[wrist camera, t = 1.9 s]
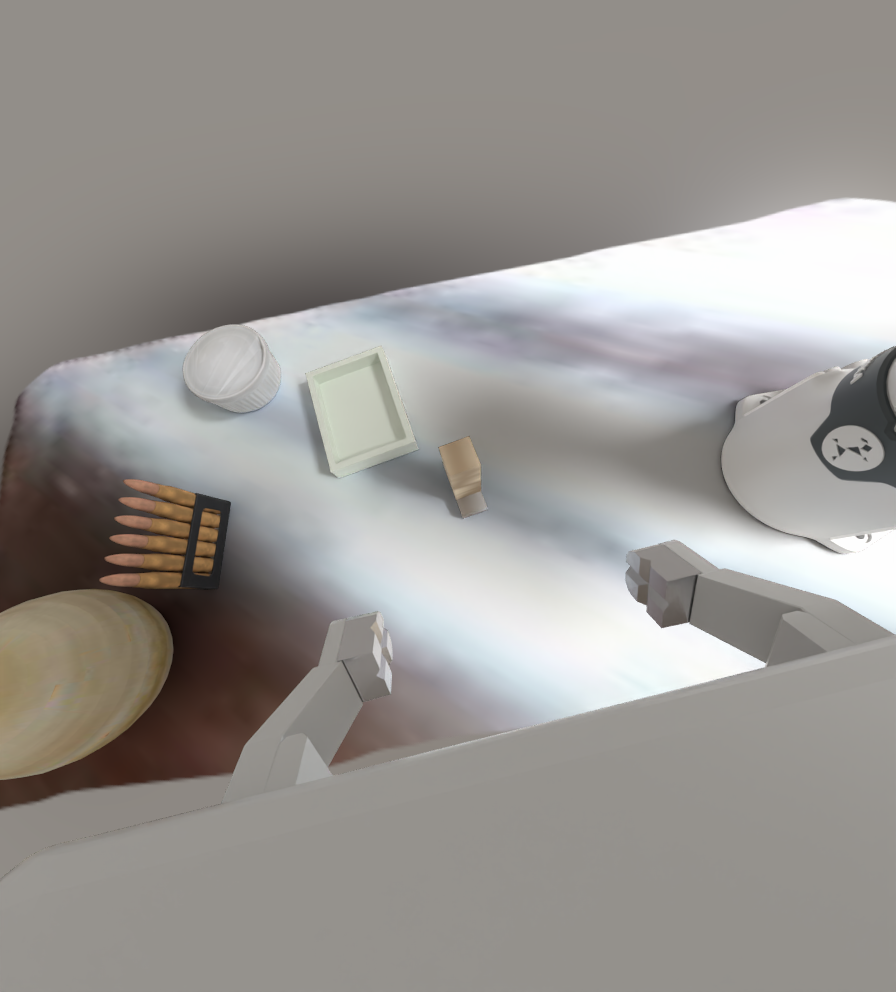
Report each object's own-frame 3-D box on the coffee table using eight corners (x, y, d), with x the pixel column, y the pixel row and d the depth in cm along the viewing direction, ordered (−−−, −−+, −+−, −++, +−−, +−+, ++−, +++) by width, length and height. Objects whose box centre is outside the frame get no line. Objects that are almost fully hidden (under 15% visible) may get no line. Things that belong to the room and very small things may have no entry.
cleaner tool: (466, 457, 40) (461, 417, 30) (487, 509, 38) (489, 484, 28) (443, 466, 40) (431, 428, 30) (463, 518, 38) (456, 496, 28)
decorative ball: (91, 604, 40) (-129, 615, 25) (207, 575, 39) (49, 570, 25) (81, 744, 36) (-189, 853, 21) (210, 714, 35) (22, 805, 21)
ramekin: (288, 414, 44) (262, 393, 39) (210, 425, 45) (176, 405, 40) (290, 345, 47) (267, 317, 42) (218, 357, 48) (187, 330, 43)
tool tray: (386, 357, 45) (381, 345, 43) (418, 449, 41) (414, 441, 39) (314, 384, 45) (305, 373, 43) (339, 478, 41) (330, 472, 39)
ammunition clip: (217, 502, 42) (117, 471, 30) (231, 501, 42) (135, 470, 30) (203, 589, 39) (87, 591, 27) (218, 589, 39) (106, 591, 27)
